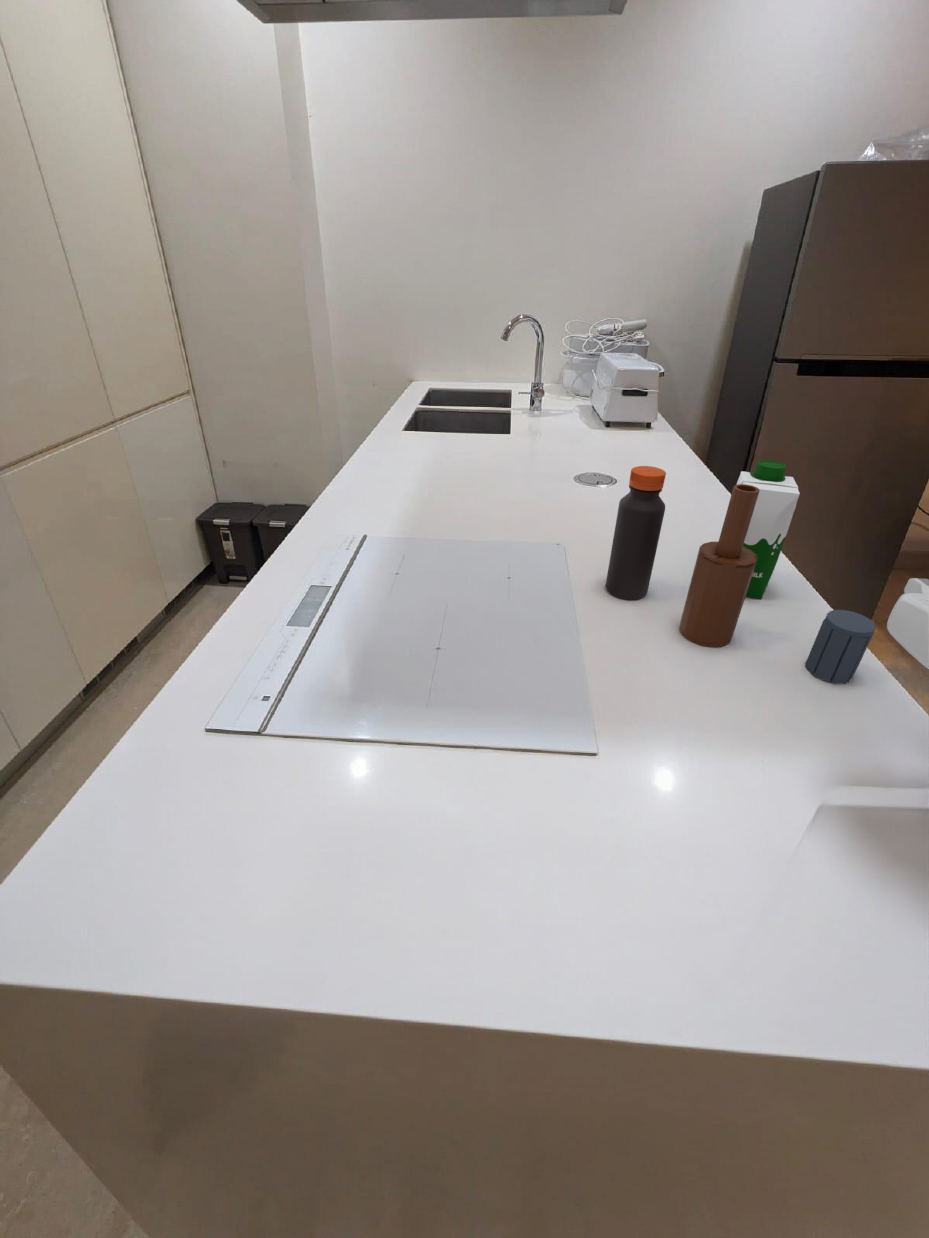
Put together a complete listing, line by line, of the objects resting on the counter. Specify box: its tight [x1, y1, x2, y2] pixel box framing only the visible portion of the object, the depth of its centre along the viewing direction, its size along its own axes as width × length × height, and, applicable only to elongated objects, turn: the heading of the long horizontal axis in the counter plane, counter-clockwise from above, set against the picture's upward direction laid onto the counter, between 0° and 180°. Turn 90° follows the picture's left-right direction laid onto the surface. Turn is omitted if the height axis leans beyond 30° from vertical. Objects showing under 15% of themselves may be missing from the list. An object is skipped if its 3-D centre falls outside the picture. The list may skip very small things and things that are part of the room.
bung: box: [804, 609, 876, 685], centre depth 75 cm, size 5×5×8 cm
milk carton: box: [736, 459, 801, 600], centre depth 92 cm, size 9×9×20 cm
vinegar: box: [605, 465, 667, 600], centre depth 90 cm, size 7×7×20 cm
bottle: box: [679, 484, 760, 648], centre depth 79 cm, size 7×7×22 cm
